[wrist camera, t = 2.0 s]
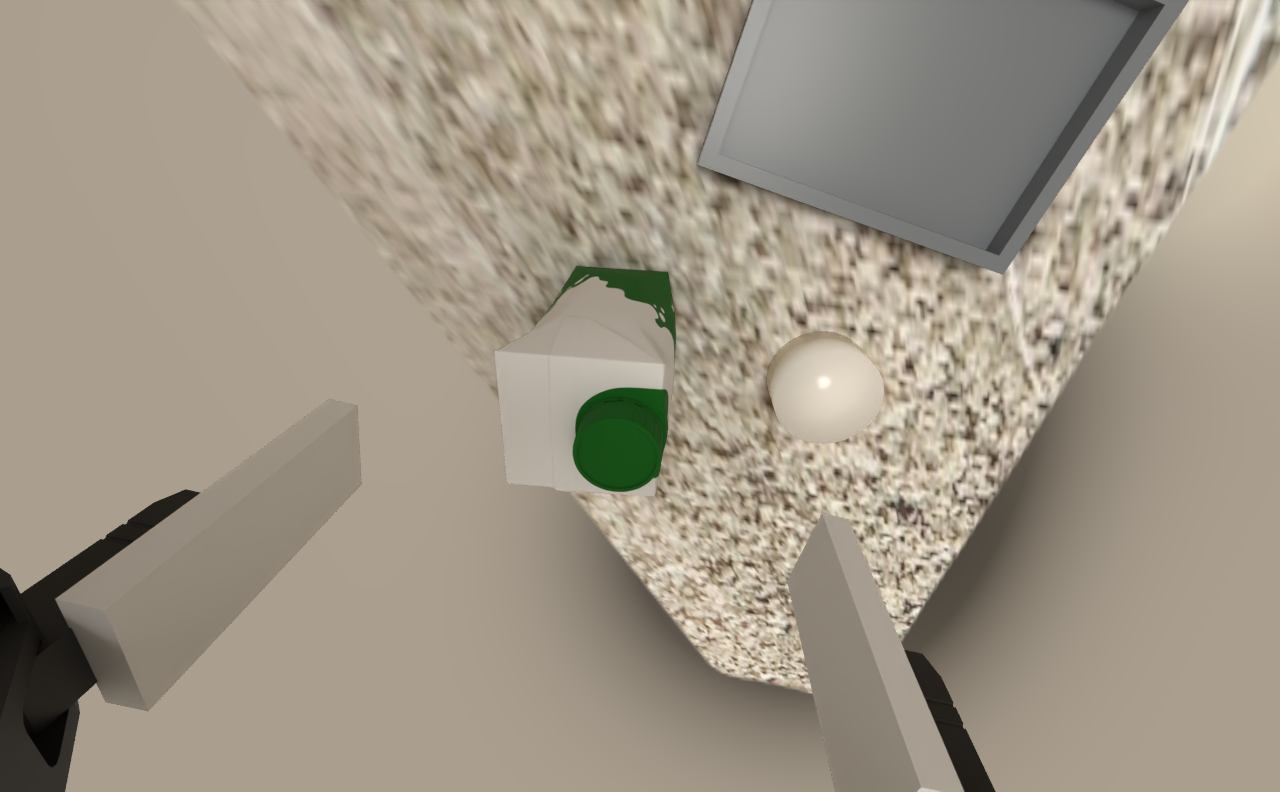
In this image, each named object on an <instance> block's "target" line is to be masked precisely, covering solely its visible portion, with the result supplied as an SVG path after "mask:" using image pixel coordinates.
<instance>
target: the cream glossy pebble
mask: <svg viewBox="0 0 1280 792" xmlns="http://www.w3.org/2000/svg"><path fill="white" fill-rule="evenodd" d="M767 387H768V391H769V394H770V398H771V401H772V404H773V407H774V410H775V413H776V416H777V418H778V420H779V422H780V424H781V425H782V426H783V428H784V429H785V430H786V431H787V432H789V433H790V434H791V435H793V436H795V437H796V438H798V439H801V440H803V441H807V442H811V443H833V442H838V441H841V440H845V439H847V438H850V437H852V436H854V435H855V434H857V433H859V432H860V431H862V430H863V429H864V428H865V427H867V426H868V425H869V424H870V423H871V421H872V420H873V419H874V418H875V416H876V415H877V413H878V411H879V410H880V407H881V405H882V401H883V397H884V385H883V380H882V377H881V375H880V373H879V371H878V370H877V368H876V367H875V366H874V364H873V363H872V362H871V361H870V360H869V358H868V357H867V356H866V355H865V353H864V352H863V351H862V350H861V349H860V347H859V346H858V345H857V344H856V343H855V342H854V341H852V340H851V339H849V338H848V337H846V336H844V335H841V334H838V333H835V332H828V331H818V332H811V333H807V334H804V335H801V336H799V337H797V338H795V339H793V340H791V341H790V342H788V343H787V344H786V345H784V346H783V347H782V348H781V349H780V350H779V351H778V353H777V354H776V355H775V356H774V358H773V360H772V362H771V364H770V366H769V369H768V373H767Z"/></svg>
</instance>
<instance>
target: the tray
mask: <svg viewBox="0 0 1280 792" xmlns="http://www.w3.org/2000/svg"><path fill="white" fill-rule="evenodd" d="M1188 1H1189V0H752V2H751V5H750V8H749V11H748V14H747V17H746V20H745V23H744V26H743V29H742V32H741V35H740V38H739V41H738V44H737V47H736V50H735V52H734V55H733V58H732V61H731V64H730V67H729V70H728V73H727V76H726V79H725V82H724V85H723V88H722V91H721V94H720V97H719V100H718V103H717V106H716V108H715V111H714V114H713V117H712V120H711V123H710V126H709V129H708V132H707V135H706V138H705V141H704V144H703V147H702V150H701V153H700V156H699V159H698V162H697V164H698V165H700V166H702V167H705V168H708V169H711V170H713V171H716V172H719V173H722V174H725V175H727V176H730V177H733V178H736V179H738V180H741V181H744V182H747V183H750V184H752V185H755V186H758V187H761V188H763V189H766V190H769V191H772V192H775V193H777V194H780V195H783V196H786V197H788V198H791V199H794V200H797V201H800V202H802V203H805V204H808V205H811V206H813V207H816V208H819V209H822V210H825V211H827V212H830V213H833V214H836V215H838V216H841V217H844V218H847V219H850V220H852V221H855V222H858V223H861V224H863V225H866V226H869V227H872V228H875V229H877V230H880V231H883V232H886V233H888V234H891V235H894V236H897V237H900V238H902V239H905V240H908V241H911V242H913V243H916V244H919V245H922V246H925V247H927V248H930V249H933V250H936V251H939V252H941V253H944V254H947V255H950V256H952V257H955V258H958V259H961V260H964V261H966V262H969V263H972V264H975V265H977V266H980V267H983V268H986V269H989V270H991V271H994V272H997V273H1000V274H1002V275H1003V274H1004V272H1005V271H1006V269H1007V268H1008V266H1009V265H1010V263H1011V262H1012V261H1013V259H1014V258H1015V256H1016V255H1017V253H1018V252H1019V250H1020V249H1021V247H1022V246H1023V244H1024V243H1025V241H1026V240H1027V238H1028V237H1029V235H1030V234H1031V233H1032V231H1033V230H1034V228H1035V227H1036V225H1037V224H1038V222H1039V221H1040V219H1041V218H1042V216H1043V215H1044V213H1045V212H1046V210H1047V209H1048V207H1049V206H1050V205H1051V203H1052V202H1053V200H1054V199H1055V197H1056V196H1057V194H1058V193H1059V191H1060V190H1061V188H1062V187H1063V185H1064V184H1065V182H1066V181H1067V179H1068V178H1069V176H1070V175H1071V174H1072V172H1073V171H1074V169H1075V168H1076V166H1077V165H1078V163H1079V162H1080V160H1081V159H1082V157H1083V156H1084V154H1085V153H1086V151H1087V150H1088V148H1089V147H1090V146H1091V144H1092V143H1093V141H1094V140H1095V138H1096V137H1097V135H1098V134H1099V132H1100V131H1101V129H1102V128H1103V126H1104V125H1105V123H1106V122H1107V120H1108V119H1109V118H1110V116H1111V115H1112V113H1113V112H1114V110H1115V109H1116V107H1117V106H1118V104H1119V103H1120V101H1121V100H1122V98H1123V97H1124V95H1125V94H1126V92H1127V91H1128V90H1129V88H1130V87H1131V85H1132V84H1133V82H1134V81H1135V79H1136V78H1137V76H1138V75H1139V73H1140V72H1141V70H1142V69H1143V67H1144V66H1145V64H1146V63H1147V62H1148V60H1149V59H1150V57H1151V56H1152V54H1153V53H1154V51H1155V50H1156V48H1157V47H1158V45H1159V44H1160V42H1161V41H1162V39H1163V38H1164V36H1165V35H1166V34H1167V32H1168V31H1169V29H1170V28H1171V26H1172V25H1173V23H1174V22H1175V20H1176V19H1177V17H1178V16H1179V14H1180V13H1181V11H1182V10H1183V8H1184V7H1185V6H1186V4H1187V3H1188Z"/></svg>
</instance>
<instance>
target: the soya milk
mask: <svg viewBox="0 0 1280 792" xmlns="http://www.w3.org/2000/svg"><path fill="white" fill-rule="evenodd" d="M675 342H676V329H675V313H674V306H673V300H672V294H671V288H670V282H669V275H668V272H656V271H641V270H626V269H611V268H596V267H582V266H576V268H575V270H574V271H573V273H572V274H571V276H570V278H569V279H568V281H567V282H566V284H565V286H564V287H563V289H562V290H561V292H560V293H559V295H558V297H557V298H556V300H555V301H554V303H553V304H552V305H551V307H550V308H549V309H548V310H547V312H546V313H545V314H544V316H543V317H542V318H541V319H540V321H539V322H538V323H537V324H536V326H535V327H534V328H533V330H532V331H531V332H529V333H528V334H526V335H524V336H522V337H520V338H519V339H517V340H515V341H513V342H511V343H509V344H508V345H506V346H504V347H502V348H500V349H498V350H497V351H495V352H494V356H495V366H496V376H497V387H498V397H499V407H500V416H501V427H502V437H503V448H504V458H505V469H506V479H507V483H511V484H524V485H534V486H546V487H554V489H555V490H558V491H569V492H576V491H583V492H595V493H608V494H621V495H634V496H649V497H653V496H654V495H655V494H656V488H657V482H658V476H659V472H660V467H661V461H662V455H663V451H664V448H665V443H666V439H667V433H668V419H669V412H670V405H671V399H672V393H673V384H674V364H675Z"/></svg>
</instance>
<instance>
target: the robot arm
mask: <svg viewBox="0 0 1280 792" xmlns="http://www.w3.org/2000/svg"><path fill="white" fill-rule="evenodd" d="M361 484H362V481H361V463H360V445H359V427H358V408H357V405H354V404H349V403H345V402H341V401H336V400H332V399H329V400H327V401H326V402H324V403H323V404H322V405H320V406H319V407H318V408H316V409H315V410H314V411H312V412H311V413H309V414H308V415H307V416H305V417H304V418H303V419H301V420H300V421H298V422H297V423H296V424H294V425H293V426H292V427H290V428H289V429H287V430H286V431H285V432H283V433H282V434H281V435H279V436H278V437H277V438H275V439H274V440H272V441H271V442H270V443H268V444H267V445H266V446H264V447H263V448H261V449H260V450H259V451H257V452H256V453H255V454H253V455H252V456H250V457H249V458H248V459H247V460H245V461H244V462H242V463H241V464H240V465H238V466H237V467H235V468H234V469H233V470H231V471H230V472H229V473H227V474H226V475H224V476H223V477H222V478H220V479H219V480H218V481H216V482H215V483H213V484H212V485H211V486H209V487H208V488H207V489H205V490H204V491H203V492H201V493H199V492H195V491H190V490H183V491H181V492H179V493H176V494H174V495H171V496H169V497H166V498H164V499H161V500H159V501H157V502H154V503H153V504H151V505H150V506H148V507H147V508H145V509H144V510H143V511H141V512H140V513H138V514H137V515H136V516H134V517H132V518H131V519H129V520H128V522H127V524H125V525H124V524H122V525H121V526H119V527H118V528H116V529H115V530H113V531H112V532H110V533H109V534H107V535H106V538H105V539H103V540H102V539H100V540H99V541H97V542H96V543H94V544H93V545H92V546H90V547H88V548H87V549H86V550H84V551H82V552H81V553H80V554H78V555H77V556H75V557H74V558H72V559H71V560H69V561H68V562H66V563H65V564H63V565H62V566H61V567H59V568H58V569H56V570H55V571H53V572H52V573H51V574H49V575H47V576H46V577H45V578H43V579H42V580H40V581H39V582H37V583H36V584H34V585H33V586H31V587H30V588H29V589H27V590H26V591H24V592H23V593H21V594H20V592H19V590H18V588H17V587H16V585H15V583H14V581H13V579H12V577H11V575H10V574H8V573H7V572H5V571H4V570H2V569H1V568H0V792H65V789H66V783H67V778H68V773H69V768H70V762H71V757H72V752H73V747H74V741H75V736H76V731H77V725H78V720H79V715H80V710H79V704H78V701H77V700H78V699H79V698H80V697H81V696H82V695H83V694H85V693H86V692H87V691H88V690H89V689H90V688H91V687H92V686H93V685H94V684H95V683H97V686H98V687H99V690H100V691H101V694H102V695H103V698H104V700H105V702H107V703H112V704H117V705H121V706H126V707H131V708H136V709H141V710H145V711H149V710H150V709H151V708H152V707H153V706H154V705H155V704H156V703H157V701H158V700H159V699H160V698H161V697H162V696H163V695H164V694H165V693H166V692H167V691H168V690H169V689H170V688H171V686H173V684H174V683H175V682H176V681H177V680H178V679H179V678H180V677H181V676H182V675H183V674H184V673H185V672H186V671H187V670H188V668H189V667H190V666H191V665H192V664H193V663H194V662H195V661H196V660H197V659H198V658H199V657H200V656H201V655H202V654H203V653H204V651H205V650H206V649H207V648H208V647H209V646H210V645H211V644H212V643H213V642H214V641H215V640H216V639H217V638H218V637H219V636H220V634H221V633H222V632H223V631H224V630H225V629H226V628H227V627H228V626H229V625H230V624H231V623H232V622H233V621H234V620H235V619H236V617H237V616H238V615H239V614H240V613H241V612H242V611H243V610H244V609H245V608H246V607H247V606H248V604H250V602H251V601H252V600H253V599H254V598H255V597H256V596H257V595H258V594H259V593H260V592H261V591H262V590H263V589H264V588H265V586H266V585H267V584H268V583H269V582H270V581H271V580H272V579H273V578H274V577H275V576H276V575H277V574H278V572H280V571H281V570H282V568H283V567H284V566H285V565H286V564H287V563H288V562H289V561H290V560H291V559H292V558H293V557H294V556H295V555H296V554H297V552H298V551H299V550H300V549H301V548H302V547H303V546H304V545H305V544H306V543H307V542H308V541H309V540H310V539H311V538H312V536H313V535H314V534H315V533H316V532H317V531H318V530H319V529H320V528H321V527H322V526H323V525H324V524H325V523H326V522H327V521H328V519H329V518H330V517H331V516H332V515H333V514H334V513H335V512H336V511H337V510H338V509H339V508H340V507H341V506H342V505H343V503H344V502H345V501H346V500H347V499H348V498H349V497H350V496H351V495H352V494H353V493H354V492H355V491H356V490H357V489H358V488H359V486H360V485H361ZM787 582H788V587H789V591H790V596H791V600H792V604H793V609H794V613H795V618H796V622H797V626H798V631H799V635H800V640H801V644H802V648H803V653H804V657H805V662H806V666H807V670H808V675H809V679H810V683H811V688H812V692H813V697H814V701H815V705H816V710H817V714H818V718H819V723H820V727H821V732H822V736H823V741H824V745H825V749H826V754H827V758H828V763H829V767H830V771H831V776H832V779H833V784H834V789H835V792H995V790H994V788H993V785H992V783H991V781H990V779H989V777H988V775H987V773H986V771H985V769H984V766H983V764H982V762H981V760H980V758H979V756H978V754H977V752H976V750H975V748H974V745H973V743H972V741H971V739H970V737H969V735H968V733H967V731H966V729H964V728H963V722H962V720H961V718H960V716H959V714H958V712H957V709H956V708H954V707H953V701H952V699H951V697H950V695H949V692H948V690H947V688H946V686H945V684H944V682H943V680H942V678H941V676H940V675H939V674H938V673H937V671H936V670H935V669H934V668H933V667H932V665H931V664H930V663H929V661H928V660H927V659H926V658H925V656H924V655H923V654H920V653H916V652H912V651H908V650H904V649H903V647H902V644H901V642H900V639H899V637H898V635H897V632H896V630H895V628H894V625H893V623H892V621H891V618H890V616H889V614H888V611H887V609H886V606H885V604H884V602H883V599H882V597H881V595H880V592H879V590H878V588H877V585H876V583H875V581H874V578H873V576H872V574H871V571H870V569H869V566H868V564H867V562H866V559H865V557H864V555H863V552H862V550H861V548H860V545H859V543H858V541H857V538H856V536H855V534H854V531H853V529H852V527H851V524H850V522H849V519H845V518H841V517H836V516H832V515H828V514H823V513H822V514H821V516H820V518H819V520H818V522H817V524H816V526H815V528H814V530H813V532H812V534H811V536H810V538H809V540H808V541H807V543H806V545H805V547H804V549H803V551H802V553H801V555H800V557H799V559H798V561H797V563H796V565H795V567H794V569H793V571H792V573H791V574H790V576H789V578H788V580H787Z"/></svg>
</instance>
